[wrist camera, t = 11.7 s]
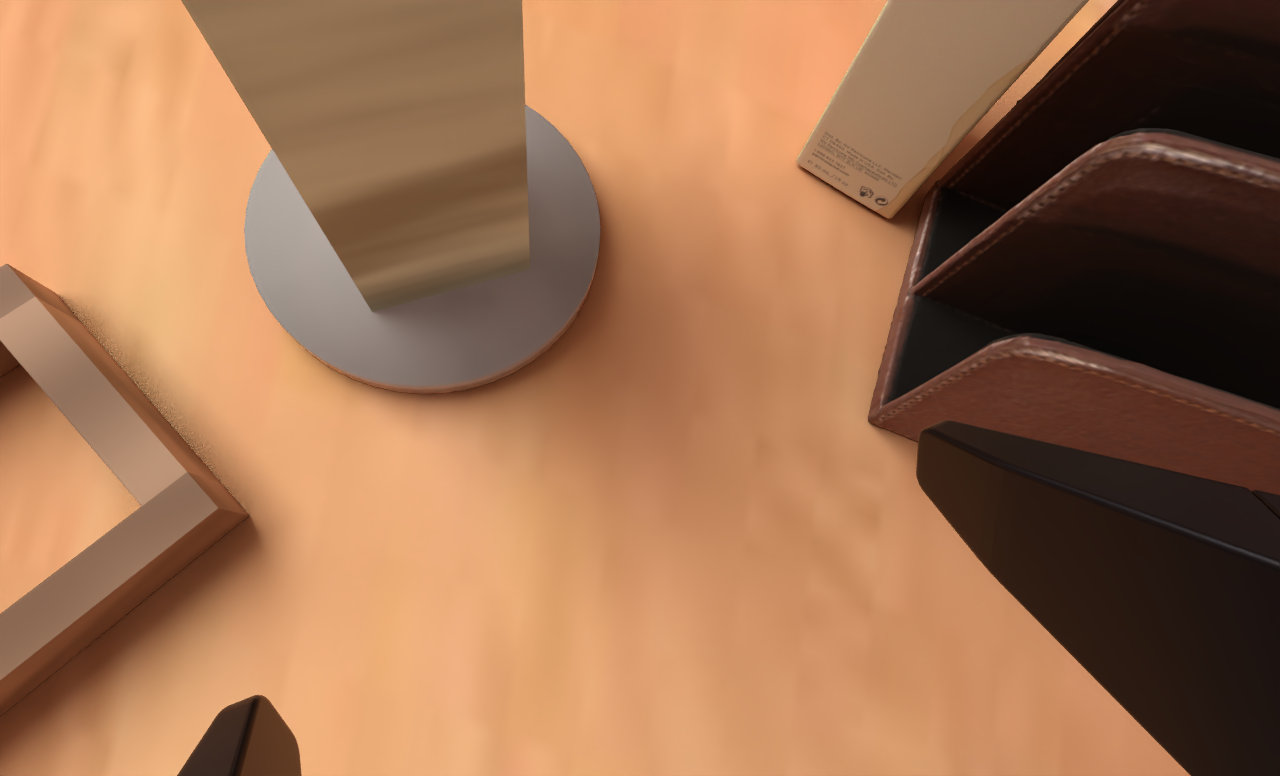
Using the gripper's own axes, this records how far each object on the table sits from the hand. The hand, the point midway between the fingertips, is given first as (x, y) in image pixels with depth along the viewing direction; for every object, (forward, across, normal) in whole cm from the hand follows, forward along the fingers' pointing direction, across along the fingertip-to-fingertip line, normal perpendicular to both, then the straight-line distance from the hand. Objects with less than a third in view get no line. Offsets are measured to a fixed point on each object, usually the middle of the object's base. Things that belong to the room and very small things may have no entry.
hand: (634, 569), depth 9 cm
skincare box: (+17, -16, 0) cm, 23 cm away
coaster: (+17, +1, 0) cm, 17 cm away
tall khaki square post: (+16, +1, -1) cm, 17 cm away
